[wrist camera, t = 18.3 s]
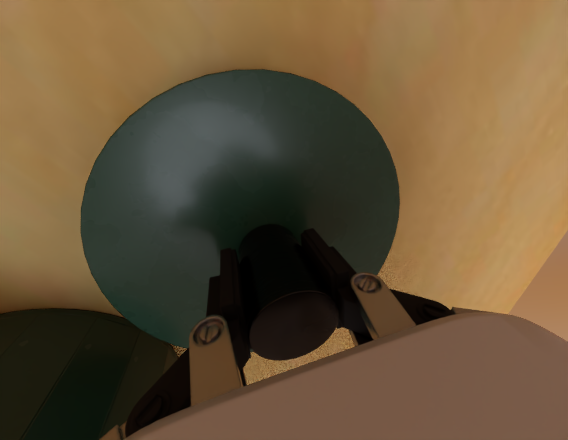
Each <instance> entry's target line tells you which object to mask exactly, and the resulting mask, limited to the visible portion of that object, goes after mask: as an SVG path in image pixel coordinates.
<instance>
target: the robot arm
mask: <svg viewBox="0 0 568 440" xmlns="http://www.w3.org/2000/svg"><path fill="white" fill-rule="evenodd" d="M301 245H302V249H303V250H304V252H305V253H306V255H307V257H308V258H309V260H310V261H311V263H312V265H313V266H314V268H315V269H316V271H317V273H318V274H319V276H320V277H321V279H322V281H323V282H324V284H325V285H326V287H327V289H328V290H329V292H330V293H331V295H332V297H333V298H334V300H335V301H336V303H337V305H338V308H339V321H338V324H337V329H339V328H342V327H344V328H346V329H349V332H350V335H351V337H352V340H353V342H354V345H355V347H353V348H350V349H347V350H345V351H342V352H339V353H336V354H333V355H331V356H328V357H325V358H322V359H319V360H316V361H314V362H311V363H308V364H305V365H302V366H300V367H297V368H294V369H291V370H288V371H286V372H283V373H280V374H277V375H275V376H272V377H269V378H266V379H264V380H261V381H258V382H255V383H253V384H250V385H247V381H246V377H245V373H244V369H243V367H244V366H245V364H246V363H247V361H248V360H249V358H251V354H250V350H251V349H252V348H251V346H250V344H249V340H248V333H247V325H246V315H245V306H244V298H243V289H242V281H241V272H240V264H239V261H238V257H237V253H236V250H235V249H234V250H232V249H231V248H226V249H222V250H220V275H218V276H214V277H210V279H209V289H208V301H207V312H206V317H205V318H203V319H201V320H200V321H199V322H198V323H196V325H195V326H194V327H193V328H192V330H191V332H190V336H189V347H188V349H187V350H186V351H185V352H184V353H183V354H182V355H181V356H180V357H179V358H178V359H177V360H176V361H175V362H174V363H173V365H172V366H171V367H170V368H169V369H168V370H167V371H166V372H165V373H164V374H163V375H162V376H161V377H160V378H159V379H158V380H157V382H156V383H155V384H154V385H153V386H152V387H151V388H150V389H149V390H148V391H147V392H146V393H145V394H144V395H143V396H142V397H141V399H140V400H139V401H138V402H137V403H136V405H135V406H134V407H133V409H132V411H131V412H130V414H129V416H128V419H127V421H126V422H125V423H124V424H122V425H121V426H120V427H119V426H118V425H116V426H115V427H113V428H112V429H111V430H110V431H109V432H108V433H106V434H105V435H104V436H103V437H102V438H100V439H99V440H568V342H567V341H565V340H564V339H562V338H561V337H559V336H557V335H555V334H554V333H552V332H550V331H548V330H546V329H545V328H543V327H541V326H539V325H537V324H535V323H533V322H530V321H528V320H526V319H523V318H520V317H516V316H513V315H508V314H502V313H494V312H486V311H478V310H471V309H463V308H456V307H452V309H451V310H450V309H448V308H447V307H446V306H444V305H443V304H441V303H439V302H436V301H433V300H429V299H426V298H422V297H418V296H415V295H411V294H407V293H403V292H400V291H396V290H392V289H389V288H388V286H387V285H386V284H385V282H384V281H383V280H382V279H381V278H380V277H379V276H377V275H375V274H372V273H368V272H360V273H357V272H356V271H355V270H354V269H353V268H352V267H351V266H350V264H349V263H348V262H347V261H346V260H345V259H344V258H343V257H342V255H341V254H340V253H339V252H338V251H337V250H336V249H335V248H334V247H333V246H331V247H329V246H328V245H327V244H326V242H325V241H324V240H323V239H322V238H321V236H320V235H319V234H318V233H317V232H316V231H315V229H314V228H311V229H307V230H304V231H303V233H301Z"/></svg>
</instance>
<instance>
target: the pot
mask: <svg viewBox="0 0 568 440" xmlns="http://www.w3.org/2000/svg"><path fill="white" fill-rule="evenodd" d="M177 359H178V357H177V354H176V352H175V351H174V350H173V348H172V347H171V345H170V344H169V343H167V342H165V341H162V340H160V339H158V338H156V337H154V336H152V335H150V334H148V333H146V332H144V331H143V330H141V329H140V328H138V327H137V326H136V325H134V324H133V323H131V322H130V321H128V320H127V319H124V318H121V317H117V316H114V315H109V314H104V313H99V312H94V311H85V310H76V309H32V310H23V311H15V312H8V313H3V314H0V440H99V439H100V438H102V437H103V436H104V435H105V434H106V433H108V432H109V431H110V430H111V429H112V428H113V427H115V426H116V425H118V426H119V427H120V426H121V425H122V424H124V423H125V422H126V421H127V419H128V416H129V414H130V412H131V411H132V409H133V407H134V406H135V405H136V403H137V402H138V401H139V400H140V399H141V397H142V396H143V395H144V394H145V393H146V392H147V391H148V390H149V389H150V388H151V387H152V386H153V385H154V384H155V383H156V382H157V380H158V379H159V378H160V377H161V376H162V375H163V374H164V373H165V372H166V371H167V370H168V369H169V368H170V367H171V366H172V365H173V363H174V362H175V361H176V360H177Z"/></svg>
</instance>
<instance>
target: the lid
mask: <svg viewBox="0 0 568 440" xmlns="http://www.w3.org/2000/svg"><path fill="white" fill-rule="evenodd" d="M399 205H400V198H399V184H398V179H397V174H396V169H395V166H394V163H393V160H392V157H391V154H390V152H389V150H388V148H387V146H386V144H385V142H384V140H383V138H382V136H381V135H380V133H379V132H378V131H377V129H376V128H375V127H374V125H373V124H372V122H371V121H370V120H369V119H368V118H367V117H366V116H365V115H364V114H363V113H362V112H361V111H360V110H359V109H358V108H357V107H356V106H355V105H354V104H353V103H351V102H350V101H349V100H347V99H346V98H344V97H343V96H342V95H340V94H339V93H337V92H336V91H334V90H332V89H330V88H328V87H326V86H324V85H322V84H320V83H318V82H316V81H313V80H310V79H307V78H304V77H301V76H298V75H294V74H291V73H285V72H278V71H272V70H265V69H254V70H231V71H225V72H219V73H214V74H208V75H204V76H202V77H199V78H196V79H193V80H190V81H187V82H184V83H181V84H178V85H177V86H175V87H173V88H171V89H169V90H167V91H165V92H163V93H162V94H160V95H158V96H156V97H154V98H152V99H151V100H150V101H149V102H147V103H146V104H145V105H143V106H142V107H141V108H139V109H138V110H137V111H136V112H134V113H133V114H132V115H130V116H129V117H128V118H127V119H126V121H125V122H124V123H123V124H122V125H121V126H120V127H119V128H118V129H117V130H116V131H115V133H114V134H113V135H112V136H111V137H110V138H109V140H108V142H107V143H106V145H105V146H104V148H103V149H102V151H101V153H100V154H99V156H98V157H97V159H96V161H95V163H94V166H93V168H92V170H91V173H90V175H89V178H88V180H87V183H86V186H85V191H84V196H83V201H82V206H81V237H82V243H83V249H84V254H85V257H86V260H87V263H88V265H89V268H90V271H91V274H92V276H93V277H94V279H95V281H96V283H97V284H98V286H99V288H100V290H101V291H102V293H103V294H104V295H105V297H106V298H107V299H108V300H109V302H110V303H111V304H112V305H113V307H114V308H115V309H116V310H118V311H119V312H120V313H121V314H122V315H123V316H124V317H125V318H126V319H127V320H128V321H130V322H131V323H133V324H134V325H136V326H137V327H138V328H140V329H141V330H143V331H144V332H146V333H148V334H150V335H152V336H154V337H156V338H158V339H160V340H162V341H165V342H167V343H170V344H173V345H175V346H179V347H183V348H186V349H188V347H189V336H190V332H191V330H192V328H193V327H194V326H195V325H196V323H198V322H199V321H200V320H201V319H203V318H205V317H206V312H207V301H208V289H209V279H210V277H214V276H218V275H220V250H222V249H226V248H231V249H232V250H234V249H235V250H236V253H237V257H238V261H239V264H240V272H241V281H242V289H243V298H244V306H245V315H246V325H247V333H248V340H249V344H250V346H251V348H252V349H251V350H250V352H255V353H256V354H258V355H259V356H261V357H263V358H266V359H270V360H289V359H294V358H298V357H301V356H303V355H306V354H308V353H310V352H312V351H313V350H315V349H317V348H318V347H320V346H321V345H322V344H323V343H324V342H325V341H326V340H328V338H329V337H330V336H331V335H332V333H333V332H334V330H335V329H336V327H337V324H338V321H339V308H338V305H337V303H336V301H335V300H334V298H333V297H332V295H331V293H330V292H329V290H328V289H327V287H326V285H325V284H324V282H323V281H322V279H321V277H320V276H319V274H318V273H317V271H316V269H315V268H314V266H313V265H312V263H311V261H310V260H309V258H308V257H307V255H306V253H305V252H304V250H303V249H302V245H301V233H303V231H304V230H307V229H311V228H314V229H315V231H316V232H317V233H318V234H319V235H320V236H321V238H322V239H323V240H324V241H325V242H326V244H327V245H328V246H329V247H331V246H333V247H334V248H335V249H336V250H337V251H338V252H339V253H340V254H341V255H342V257H343V258H344V259H345V260H346V261H347V262H348V263H349V264H350V266H351V267H352V268H353V269H354V270H355V271H356V272H357V273H360V272H368V273H372V274H375V275H377V274H378V273H379V271H380V269H381V267H382V266H383V264H384V262H385V260H386V258H387V255H388V253H389V251H390V249H391V246H392V243H393V240H394V237H395V233H396V228H397V223H398V218H399Z"/></svg>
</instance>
